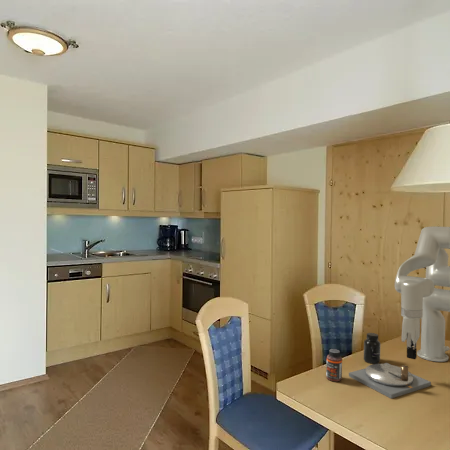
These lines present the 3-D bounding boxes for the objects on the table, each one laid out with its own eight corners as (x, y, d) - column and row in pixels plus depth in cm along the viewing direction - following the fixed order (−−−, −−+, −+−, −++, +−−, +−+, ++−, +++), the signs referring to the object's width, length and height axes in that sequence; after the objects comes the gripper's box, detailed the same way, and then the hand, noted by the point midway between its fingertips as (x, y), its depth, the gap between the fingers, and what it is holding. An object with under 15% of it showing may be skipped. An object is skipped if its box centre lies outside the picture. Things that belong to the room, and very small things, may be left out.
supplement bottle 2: (377, 365, 159) (378, 337, 159) (361, 361, 163) (362, 334, 163) (381, 360, 164) (382, 333, 164) (366, 356, 169) (366, 330, 168)
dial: (356, 371, 148) (356, 355, 148) (386, 364, 155) (386, 349, 155) (391, 390, 133) (392, 372, 133) (423, 381, 140) (423, 364, 140)
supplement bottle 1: (324, 380, 145) (325, 351, 144) (327, 374, 150) (328, 346, 149) (340, 383, 142) (340, 354, 141) (343, 377, 147) (343, 349, 147)
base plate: (386, 366, 158) (386, 362, 158) (430, 385, 140) (430, 381, 140) (348, 376, 148) (348, 372, 148) (391, 398, 130) (391, 394, 130)
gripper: (405, 306, 152) (405, 349, 153) (396, 315, 140) (396, 362, 141) (426, 309, 147) (425, 353, 148) (418, 319, 135) (418, 367, 137)
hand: (411, 357), depth 145 cm, fingers closed
